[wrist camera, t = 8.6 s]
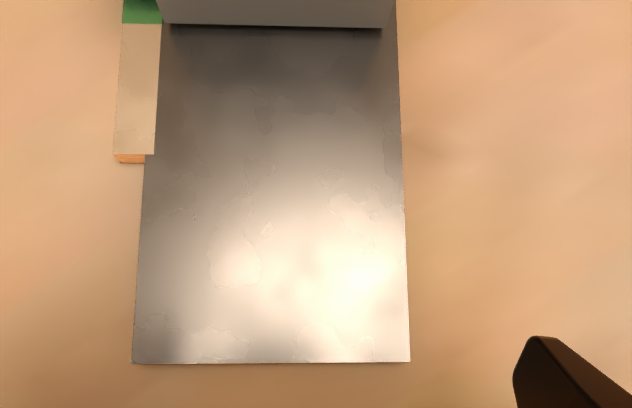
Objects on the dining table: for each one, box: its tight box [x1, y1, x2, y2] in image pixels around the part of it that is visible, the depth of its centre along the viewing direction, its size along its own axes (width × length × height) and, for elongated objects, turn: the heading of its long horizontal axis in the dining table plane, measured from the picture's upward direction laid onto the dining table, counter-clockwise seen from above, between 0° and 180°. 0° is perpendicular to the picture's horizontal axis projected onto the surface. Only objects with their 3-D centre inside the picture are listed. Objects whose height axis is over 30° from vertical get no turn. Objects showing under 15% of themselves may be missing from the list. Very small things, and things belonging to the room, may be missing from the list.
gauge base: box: [113, 0, 410, 364], centre depth 21 cm, size 22×10×1 cm, turn 0°
